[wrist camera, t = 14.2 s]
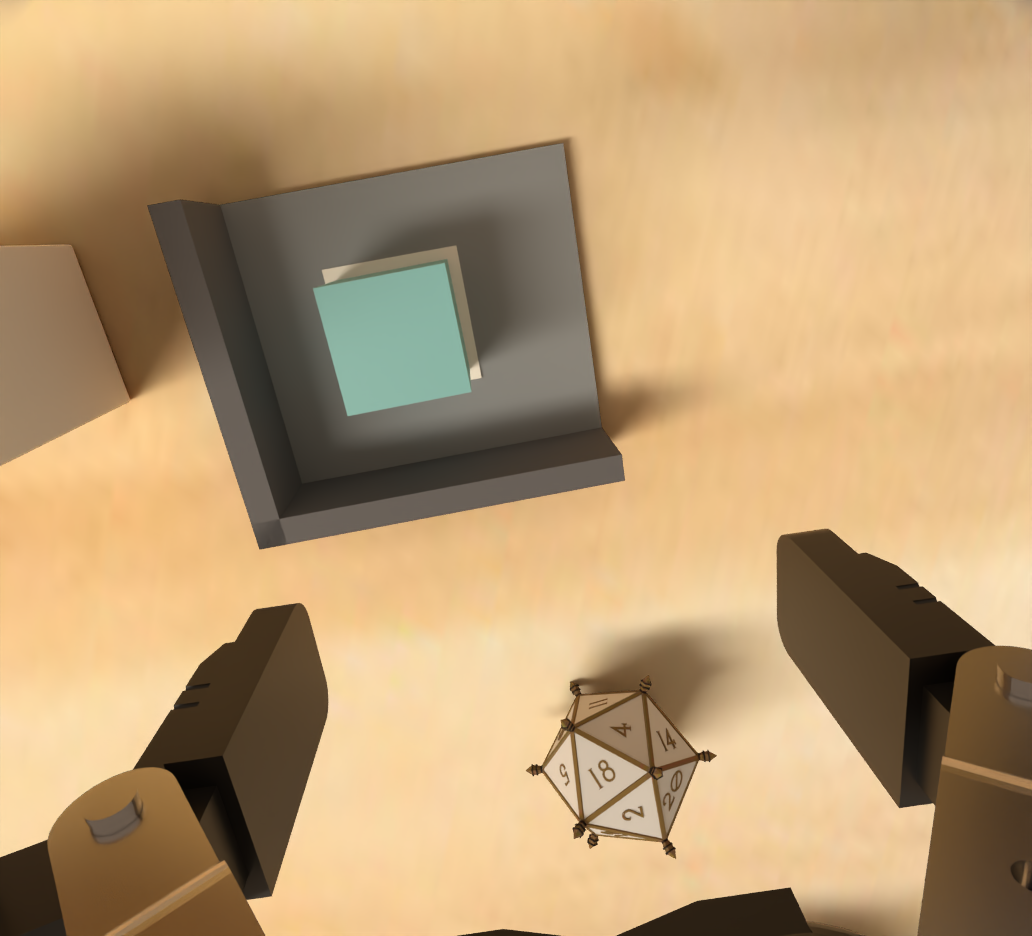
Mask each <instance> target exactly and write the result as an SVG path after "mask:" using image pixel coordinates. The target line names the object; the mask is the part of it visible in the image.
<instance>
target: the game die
mask: <svg viewBox="0 0 1032 936" xmlns="http://www.w3.org/2000/svg"><path fill="white" fill-rule="evenodd" d="M578 686H579V685H576V684H574V683H572V682H570V691H572V693H573V695H575V696H576V698H575V700H574V702H573V704H572V706H571V708H570V710H569V712H568V714H567V716H566V719H563V720H561V729H560V731H559V733H558V735H557V737H556V739H555V741H554V743H553V745H552V747H551V749H550V751H549V753H548V755H547V757H546V759H545V761H544V763H543V765H542V766H538V765H537V764H536V765H533V764H532V766H531V767H529V768H528V769H527V770H526V771H527V772H529V773H530V774H532V775H533V776H534V775H538V774H540V773H543V774H544V775H545V777H546V778H547V779H548V781H549V782H550V783H551V785H552V786H553V787H554V789H555V790H556V792H557V793H558V794H559V796H560V797H561V798H562V800H563V801H564V802H565V804H566V805H567V806H568V808H569V809H570V810H571V812H572V813H573V814H574V816H575V817H576V819H577V820H578V821H579V823H578V824H575V827H573V832H574V839H575V838H578V837H580V838H581V837H582V836H583V834H584V832H585V830H586V829H587V830H589V831H590V832H591V833H592V834H590V835H589V838H588V842H587V843H588V844H589V848H590V849H591V848H592V847H593V846H596V845H598V844H597V841H599V839H598V836H605V837H615V838H625V839H635V840H645V841H655V842H662V844H663V847H664V848H663V850H664V849H665V851H666V855H667V854H668V855H670V856H671V857H673V858H675V859H676V854H675V849H676V848H675V847H673V845H672V842H670V841H669V840H668V836H669V833H670V831H671V828H672V826H673V823H674V821H675V818H676V816H677V813H678V811H679V808H680V806H681V803H682V801H683V798H684V796H685V793H686V791H687V789H688V786H689V784H690V781H691V779H692V776H693V774H694V771H695V769H696V766H697V764H698V761H699V760H702V761H704V762H705V761H709V762H710V761H711V760H712V759H713V758H714V757H716V756H717V755H715V754H713V753H711V752H709V751H708V750H707V751H705V752H704V751H703V752H701V753H697V752H696V751H695V749H694V748H693V747H692V746H691V745H690V744H689V742H688V741H687V740H686V739H685V738H684V736H683V735H682V734H681V733H680V732H679V731H678V729H677V728H676V727H675V726H674V725H673V723H672V722H671V721H670V720H669V719H668V718H667V716H666V715H665V714H664V713H663V712H662V710H661V709H660V708H659V707H658V706H657V704H656V703H655V702H654V701H653V700H652V699H651V697H650V696H649V695H648V694H647V693H646V692H647V690H649V689H650V688H649V686H651V682H650V679H649V675H648V676H647V677H646V678H644V679H643V680H641V684H640V690H635V691H621V692H607V693H592V694H581V692H580V688H579V687H578ZM585 828H586V829H585Z"/></svg>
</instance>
